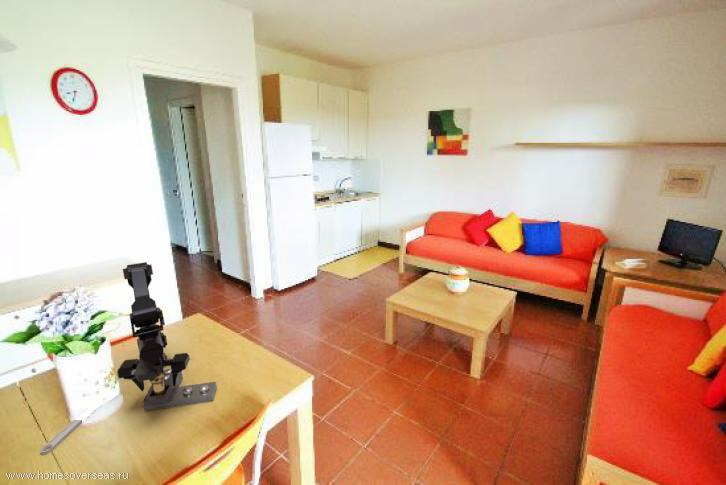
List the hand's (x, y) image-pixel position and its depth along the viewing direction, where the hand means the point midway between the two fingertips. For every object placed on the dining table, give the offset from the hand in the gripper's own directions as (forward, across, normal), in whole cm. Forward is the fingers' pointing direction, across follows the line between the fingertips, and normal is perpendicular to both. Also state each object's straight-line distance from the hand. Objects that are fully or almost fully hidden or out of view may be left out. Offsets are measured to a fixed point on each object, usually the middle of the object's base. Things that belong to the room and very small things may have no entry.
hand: (159, 388), depth 109 cm
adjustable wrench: (+6, -21, -2) cm, 22 cm away
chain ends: (+5, +6, +4) cm, 9 cm away
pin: (+5, 0, 0) cm, 5 cm away
